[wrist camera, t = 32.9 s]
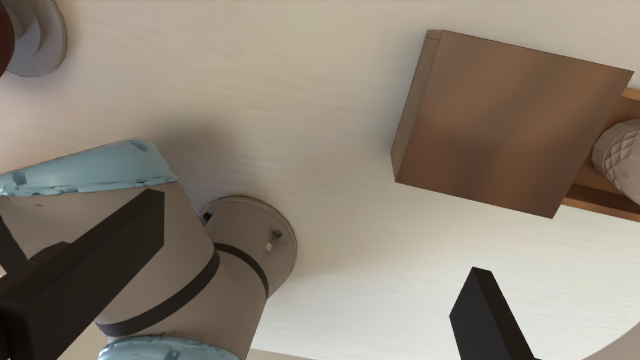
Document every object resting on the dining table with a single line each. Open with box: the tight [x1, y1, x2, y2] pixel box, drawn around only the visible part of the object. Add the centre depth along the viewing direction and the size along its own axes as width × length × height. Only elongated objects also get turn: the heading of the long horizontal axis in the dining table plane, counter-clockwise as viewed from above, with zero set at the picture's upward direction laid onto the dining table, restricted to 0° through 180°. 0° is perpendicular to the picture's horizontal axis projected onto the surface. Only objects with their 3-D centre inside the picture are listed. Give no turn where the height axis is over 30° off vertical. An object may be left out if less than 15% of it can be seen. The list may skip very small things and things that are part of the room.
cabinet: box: [391, 30, 634, 219], centre depth 35 cm, size 16×14×9 cm
